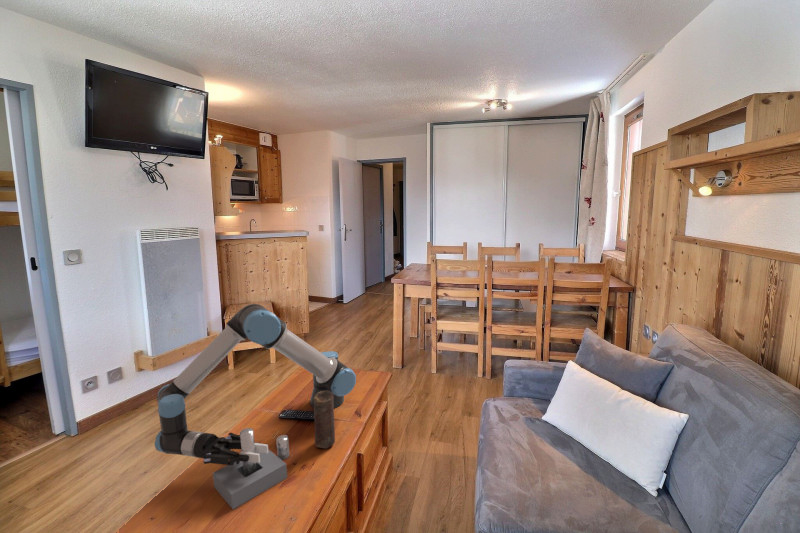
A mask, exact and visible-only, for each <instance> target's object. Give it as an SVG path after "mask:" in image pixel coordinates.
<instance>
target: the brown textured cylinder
mask: <svg viewBox="0 0 800 533" xmlns="http://www.w3.org/2000/svg"><path fill="white" fill-rule="evenodd" d="M313 414H314V417H313V418H314V421H313V422H314V445H315V447H317V448H320V449H321V448H322V449H328V448H330V447H331V446H333V445H334V444H335V442H336V430H335V408H334V402H333V393H332V392H330V391H320V392H318V393H317V394H316V395H315V397H314V408H313Z"/></svg>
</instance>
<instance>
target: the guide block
mask: <svg viewBox="0 0 800 533" xmlns="http://www.w3.org/2000/svg"><path fill="white" fill-rule="evenodd" d="M255 453H259V452H255ZM259 454H260V462H259V463H256V467H257V471H256V472H254V473H253V474H251V475H249V476H247V477H244V473H243V463H242V461H240V463H239V464H236V462H234V465H224V467H222V468H220V469H218V470H216V471H213V472H212V481H213V488H214V489H215V490H216V491H217V492H218V493H219V495H220V496H221V498H223V500H224V501H225V503H227V505H229V507H230V508H231V509H232V510H235V509H237V508H238V507H240V506H241V505H243V504H245V503H247V502H249V501H250V500H252V499H254V498H256V497H257V496H259V495H260V494H263V493H264V492H265V491H267V490H269V489H271V488H272V487H274V486H277V484H279V483H281V482H282V481H284V480H286V479H287V478H288V468H287V467H288V466H287V463H286V462H285V461H284V460H281V459H280V458H279V457H278V455H276V454H275V453H274V452H273V451H271V450H270V449H269V448H268V453H267V454H266V453H259Z"/></svg>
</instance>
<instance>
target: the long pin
mask: <svg viewBox="0 0 800 533" xmlns="http://www.w3.org/2000/svg"><path fill="white" fill-rule="evenodd" d="M239 435H240V442H241V449H240V450H241V451H244V452H251V453H255V445H254V442H255V436H254V429H253V428H252V427H246V428H242V429H241V430H240V431H239ZM241 451H240V452H241ZM242 463H243V473H244V477H247V476H249V475H251V474H253V473H254V472H256V471H257V467H256V463H255V462H248V461H247V462H243V461H242Z"/></svg>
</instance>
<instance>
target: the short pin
mask: <svg viewBox="0 0 800 533" xmlns="http://www.w3.org/2000/svg"><path fill="white" fill-rule="evenodd" d="M275 443H276V451H277V457H279V458H280V459H281V460H282V461H285V460H286V459H288V458H289V457H290V445H289V436H288V435H287V434H281V435H279V436H277V437H276V442H275Z"/></svg>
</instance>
